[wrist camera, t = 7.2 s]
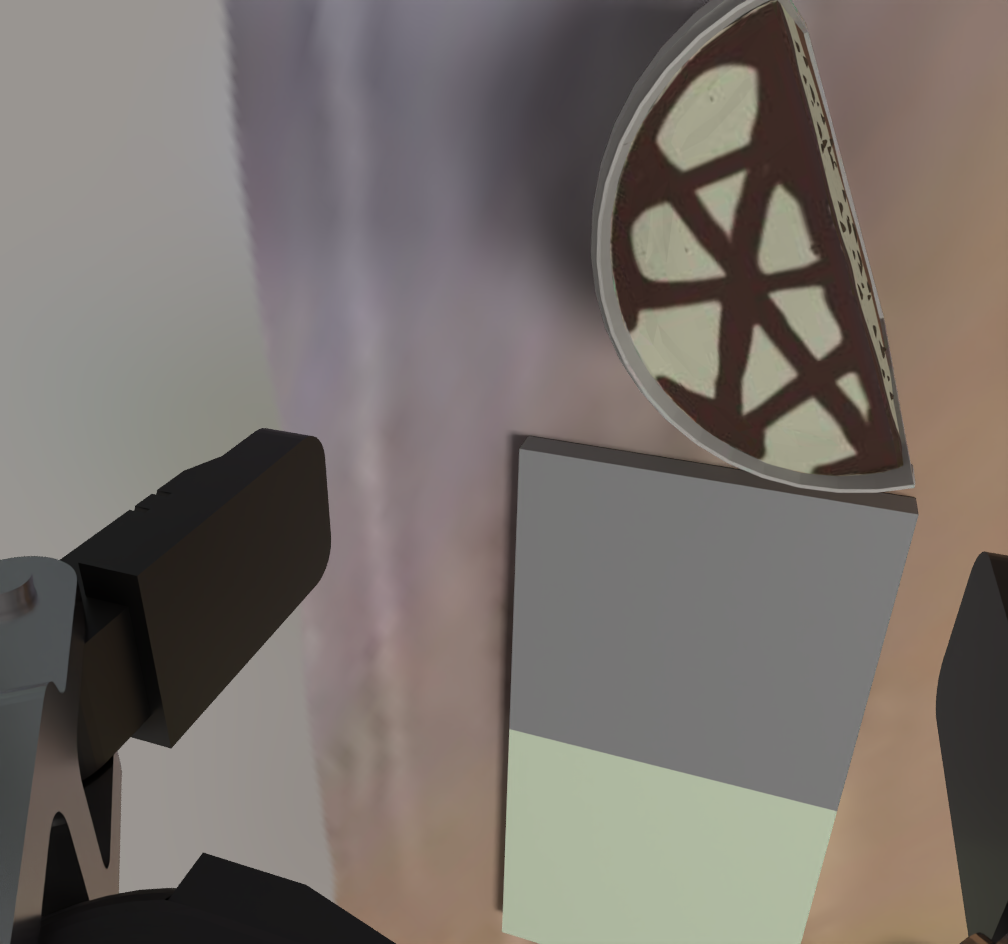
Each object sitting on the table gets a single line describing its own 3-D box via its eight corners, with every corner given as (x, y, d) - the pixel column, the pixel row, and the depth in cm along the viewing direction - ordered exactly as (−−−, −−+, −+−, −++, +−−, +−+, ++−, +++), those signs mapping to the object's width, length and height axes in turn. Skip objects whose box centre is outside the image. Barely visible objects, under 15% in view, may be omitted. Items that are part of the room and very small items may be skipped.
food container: (593, 60, 28) (491, 83, 20) (792, -31, 26) (770, -48, 17) (712, 411, 32) (669, 555, 24) (896, 364, 30) (920, 507, 21)
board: (915, 498, 31) (918, 514, 30) (781, 995, 44) (780, 1019, 43) (528, 435, 35) (519, 448, 34) (509, 912, 48) (502, 931, 47)
